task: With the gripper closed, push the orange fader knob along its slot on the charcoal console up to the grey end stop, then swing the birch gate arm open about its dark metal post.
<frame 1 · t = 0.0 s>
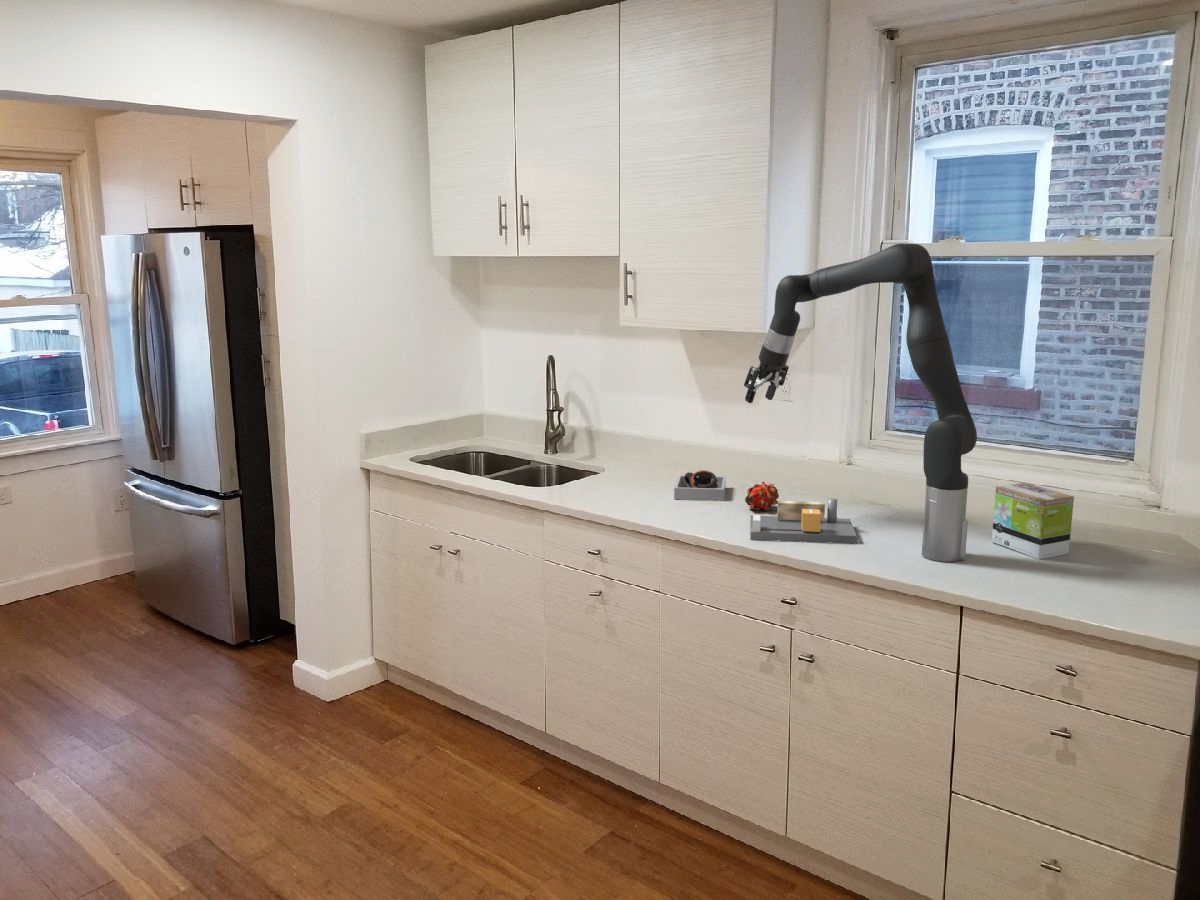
hand: (758, 400, 260), 31 cm above the worktop, tool tilted 20°, fingers open, 8 cm apart
tea box: (1029, 549, 230), on the worktop
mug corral: (700, 493, 287), on the worktop
dragon fruit: (761, 510, 268), on the worktop
gate arm: (800, 510, 248), point 5 cm above the worktop, hinge at 0.0°
fader knob: (810, 520, 239), point 5 cm above the worktop, slide at 0.0 cm
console: (823, 542, 236), on the worktop
pottery mug: (700, 494, 287), resting in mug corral
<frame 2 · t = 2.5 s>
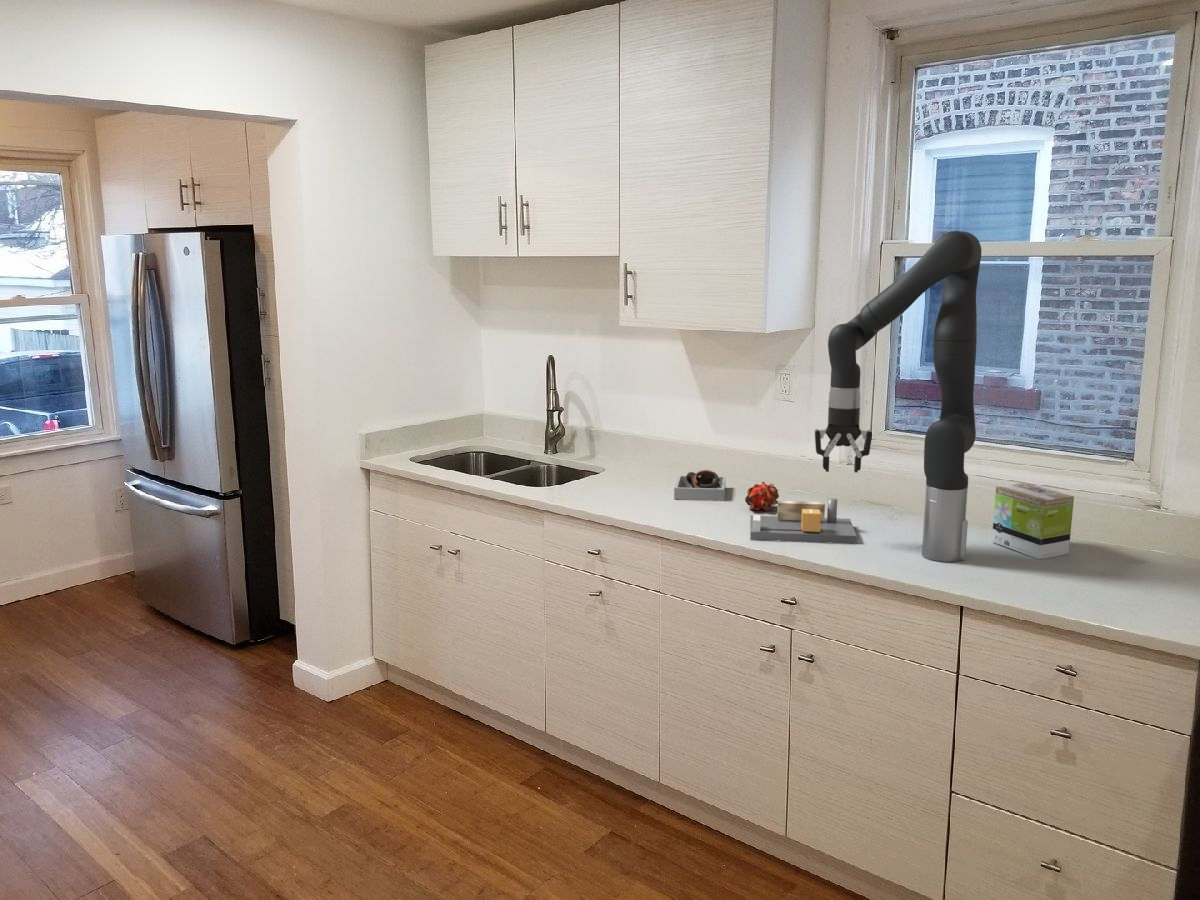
hand: (841, 471, 235), 18 cm above the worktop, tool pointing down, fingers open, 6 cm apart
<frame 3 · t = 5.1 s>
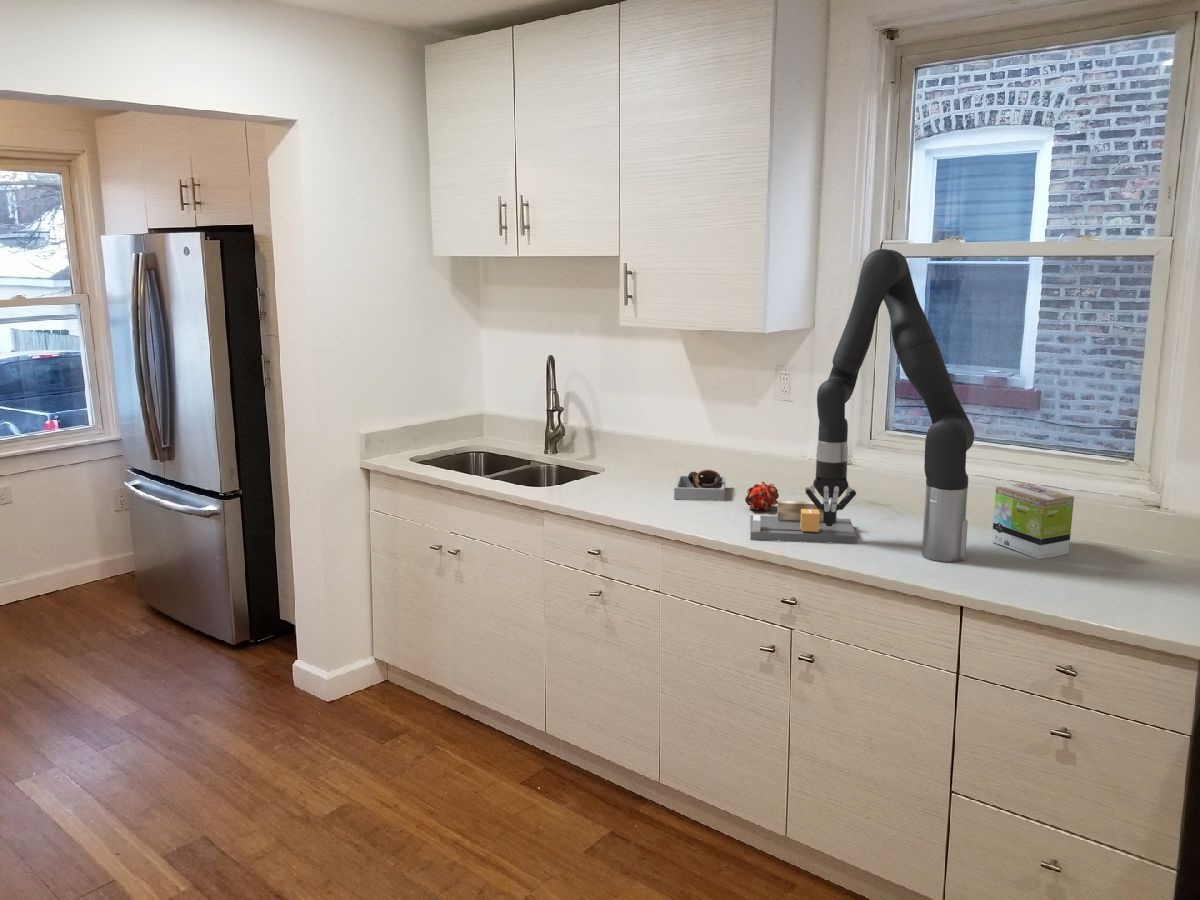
hand: (829, 525, 239), 4 cm above the worktop, tool pointing down, fingers closed
fader knob: (809, 520, 239), point 5 cm above the worktop, slide at 0.3 cm, touching gripper
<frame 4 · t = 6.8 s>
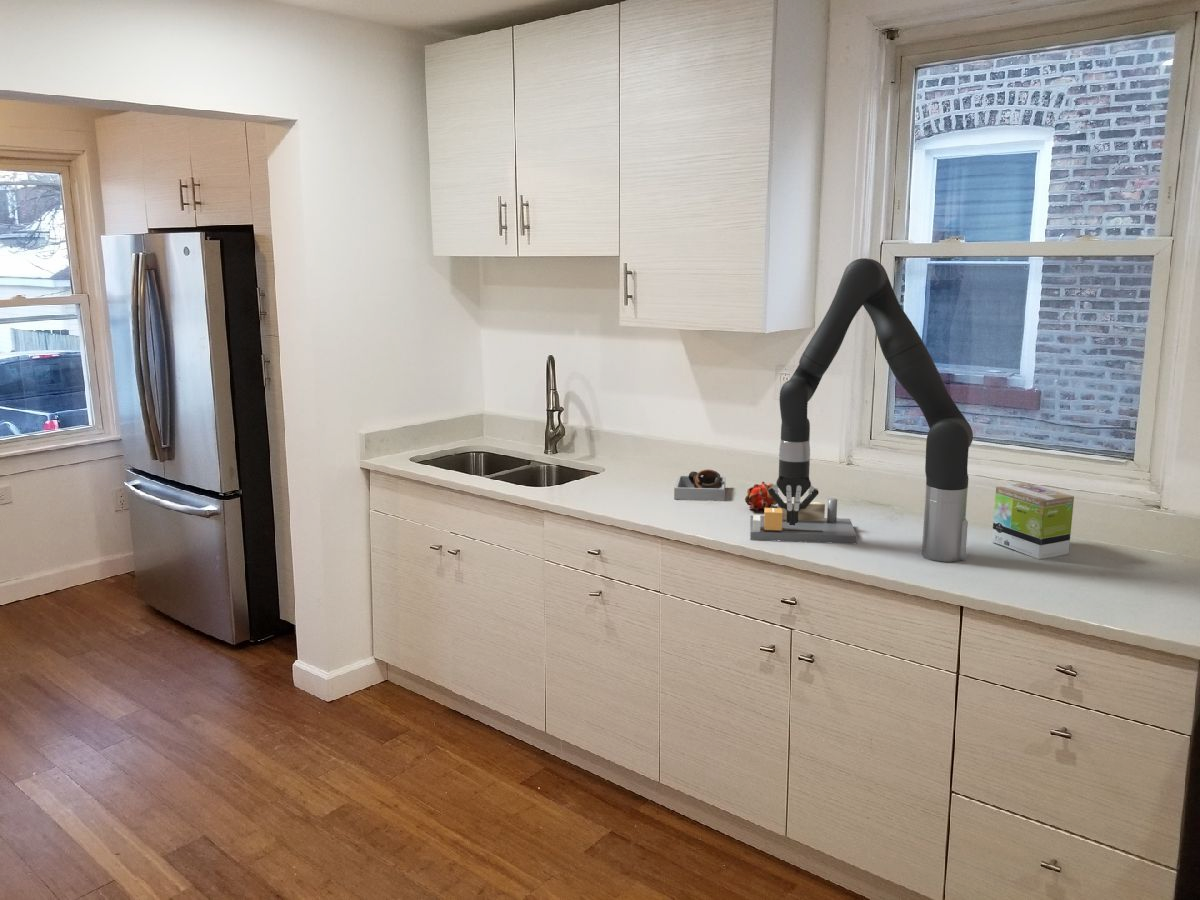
hand: (792, 524, 240), 4 cm above the worktop, tool pointing down, fingers closed
fader knob: (773, 518, 240), point 5 cm above the worktop, slide at 9.4 cm, touching gripper
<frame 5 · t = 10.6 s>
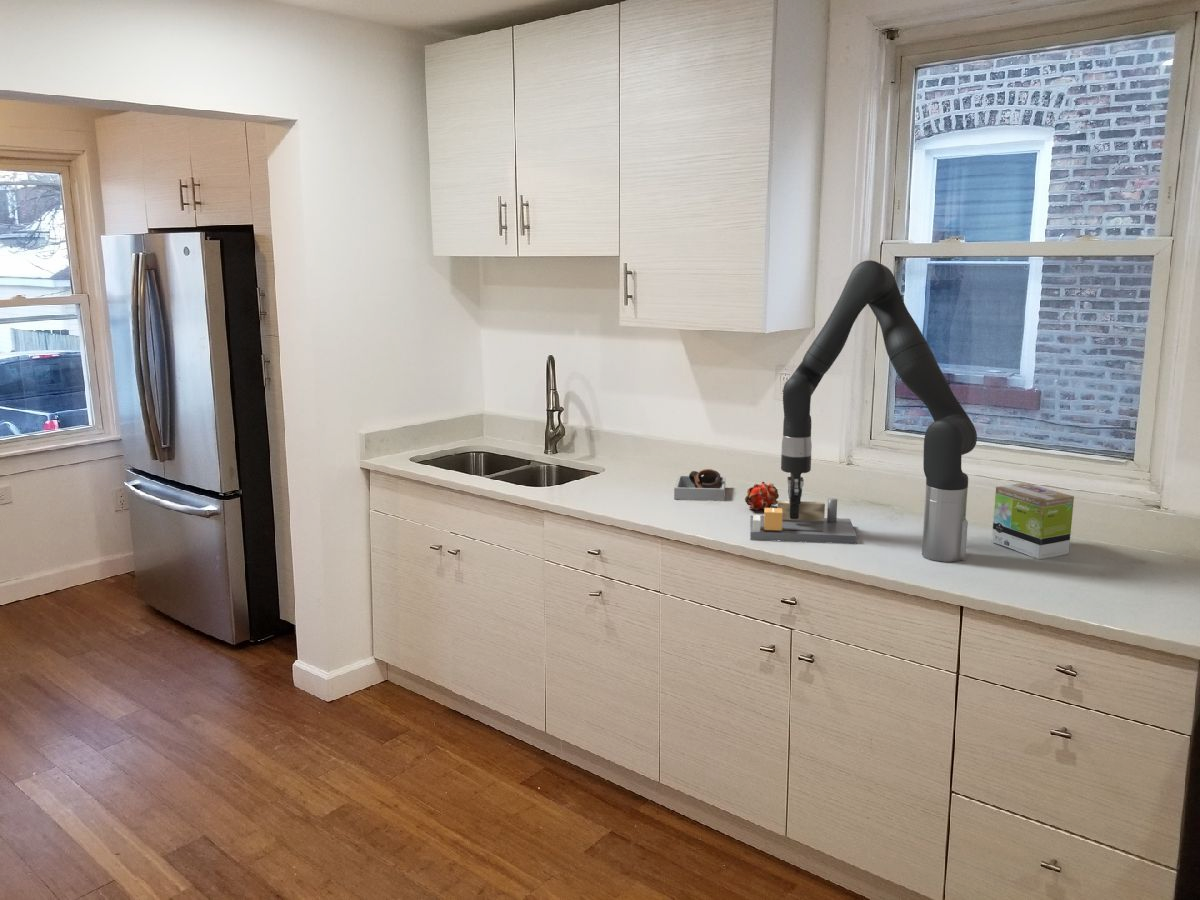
hand: (794, 518, 245), 4 cm above the worktop, tool pointing down, fingers closed
gate arm: (800, 510, 248), point 5 cm above the worktop, hinge at 0.5°, touching gripper
fader knob: (773, 518, 240), point 5 cm above the worktop, slide at 9.4 cm
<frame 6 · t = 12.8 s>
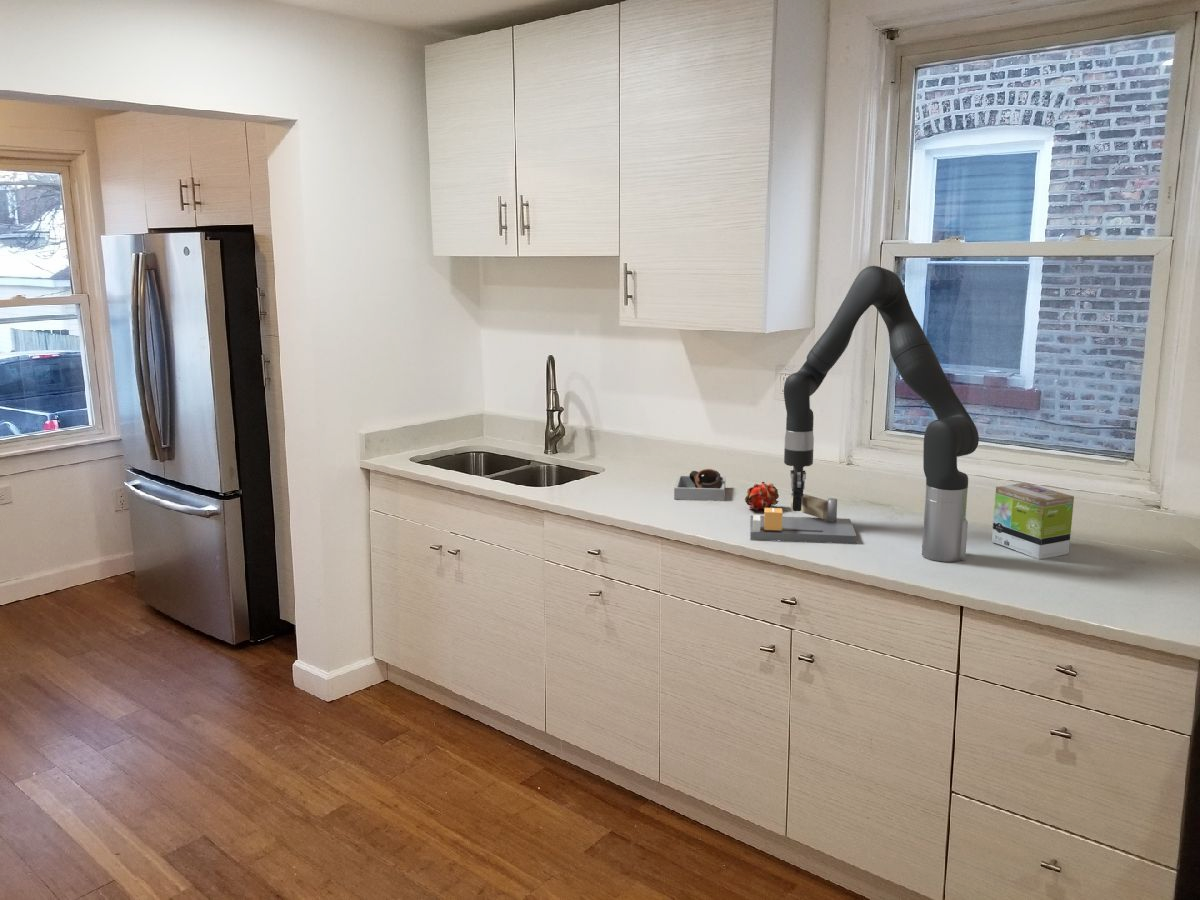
hand: (796, 510, 253), 3 cm above the worktop, tool pointing down, fingers closed
gate arm: (810, 505, 254), point 5 cm above the worktop, hinge at 48.6°, touching gripper
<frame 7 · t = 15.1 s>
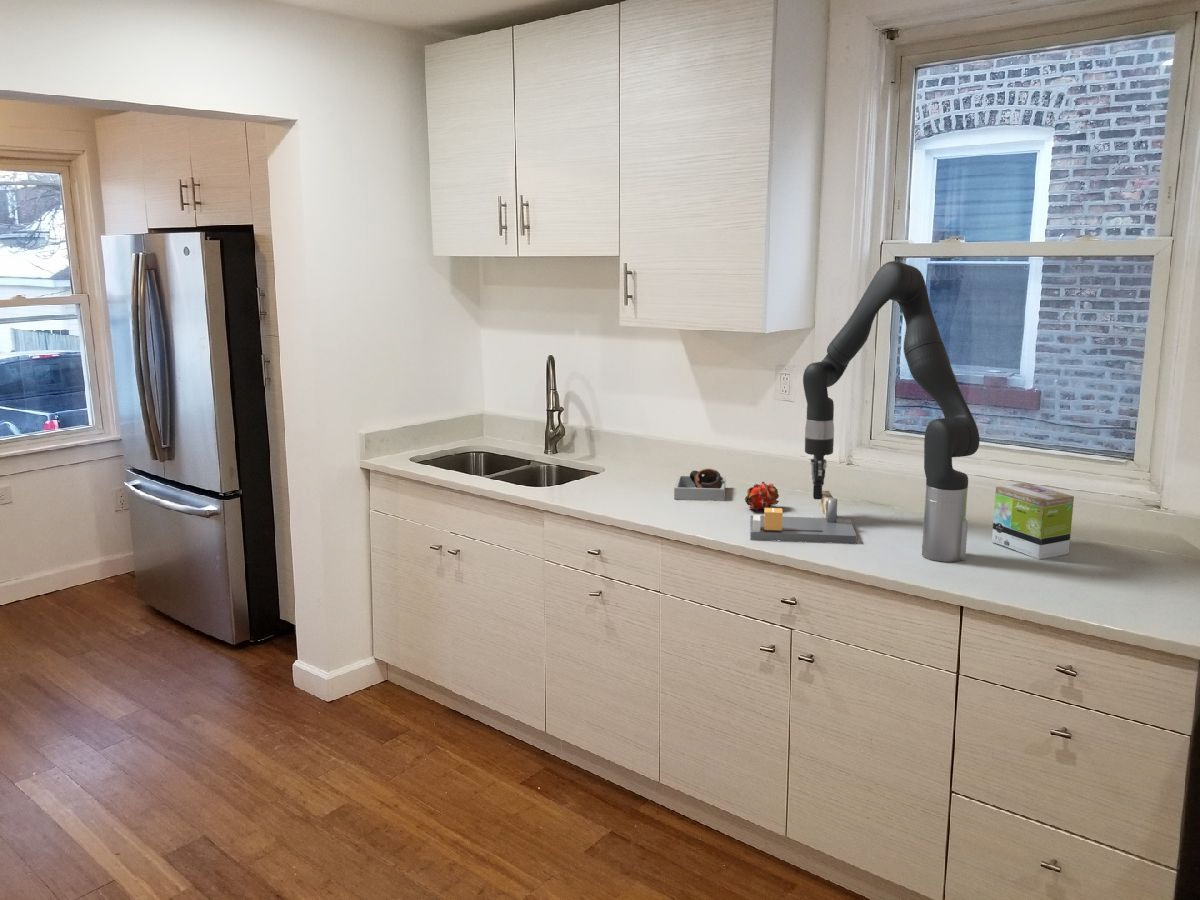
hand: (817, 498, 257), 6 cm above the worktop, tool pointing down, fingers closed
gate arm: (827, 503, 255), point 5 cm above the worktop, hinge at 85.7°
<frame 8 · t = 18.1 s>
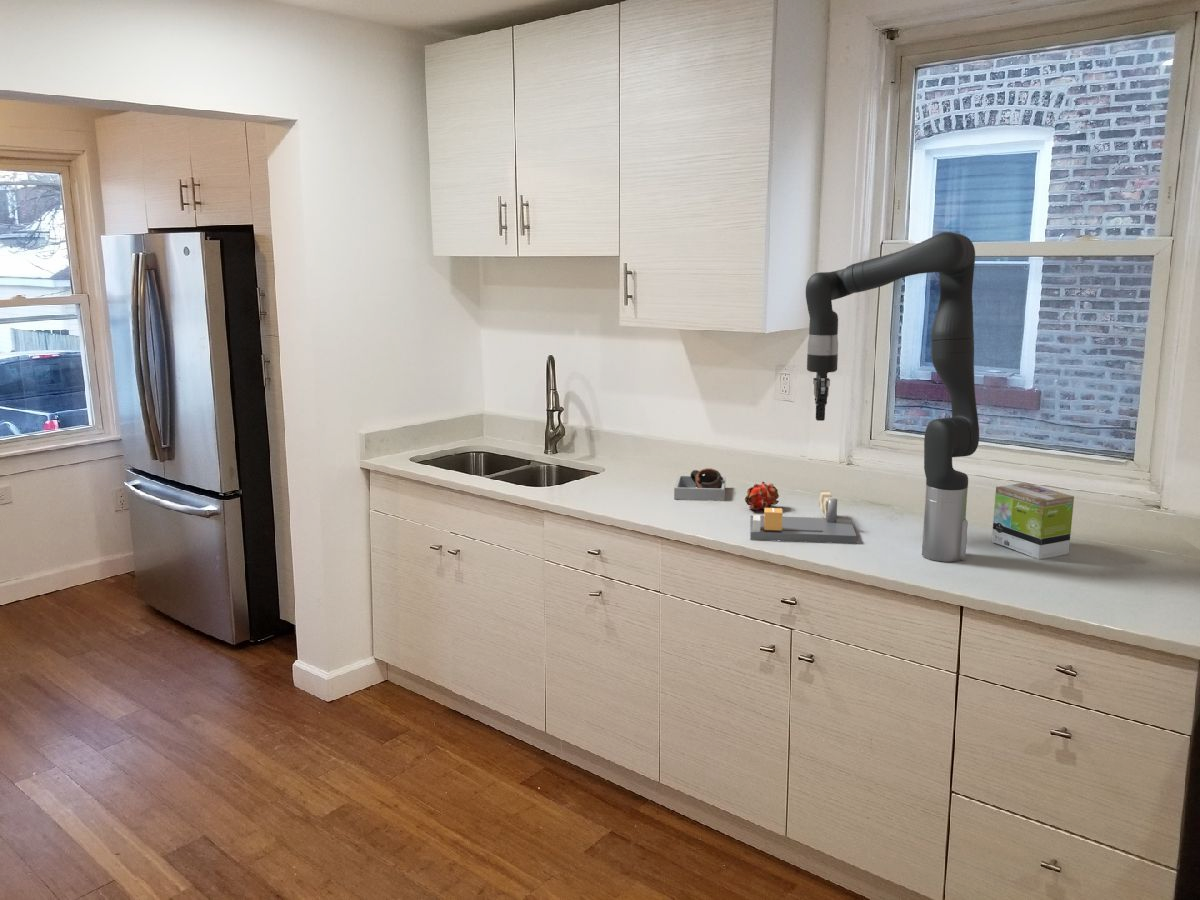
hand: (820, 420, 242), 29 cm above the worktop, tool pointing down, fingers closed
at the end: fader knob slide at 9.4 cm; gate arm at +86° (first picture: +0°) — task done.
